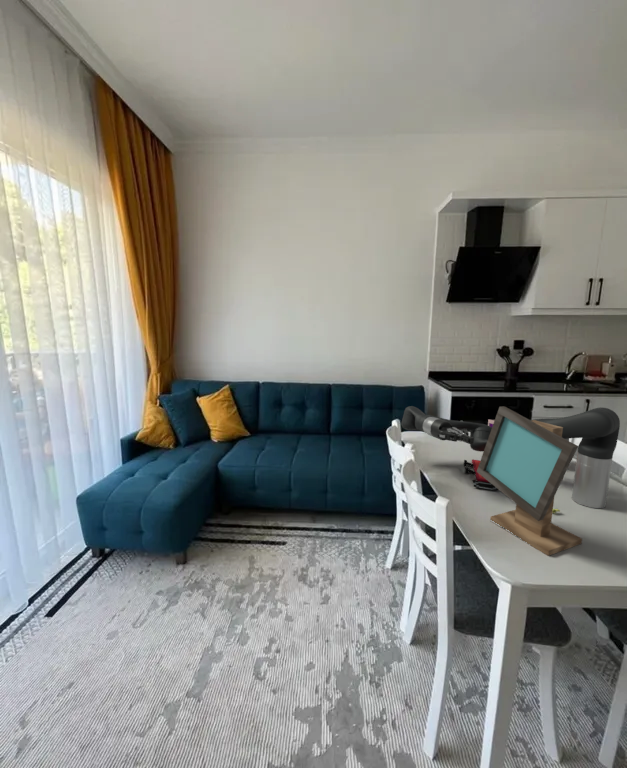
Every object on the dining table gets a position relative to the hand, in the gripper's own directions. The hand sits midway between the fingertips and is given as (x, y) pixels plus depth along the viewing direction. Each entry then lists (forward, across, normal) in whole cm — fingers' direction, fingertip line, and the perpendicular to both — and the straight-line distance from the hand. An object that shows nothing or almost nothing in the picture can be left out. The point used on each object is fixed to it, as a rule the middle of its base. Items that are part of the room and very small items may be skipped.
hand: (472, 441), depth 119 cm
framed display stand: (+23, -1, -21) cm, 31 cm away
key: (+13, -19, -22) cm, 32 cm away
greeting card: (-30, -52, -21) cm, 64 cm away
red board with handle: (-12, -21, -21) cm, 32 cm away
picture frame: (+18, +3, -11) cm, 21 cm away
